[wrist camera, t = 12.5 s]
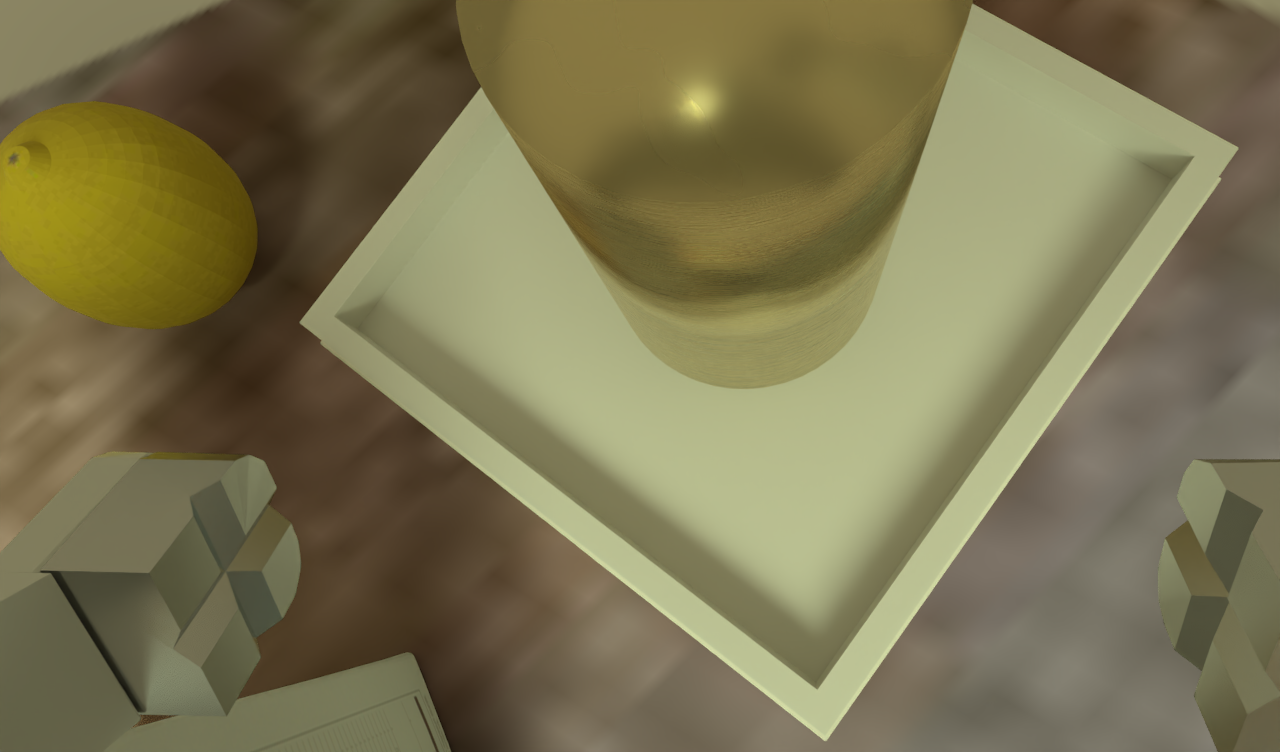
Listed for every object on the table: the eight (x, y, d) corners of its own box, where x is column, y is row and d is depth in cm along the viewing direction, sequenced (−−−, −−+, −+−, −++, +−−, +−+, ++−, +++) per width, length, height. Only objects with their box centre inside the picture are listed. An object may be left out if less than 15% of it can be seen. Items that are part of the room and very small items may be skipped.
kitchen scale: (1163, 225, 25) (1272, 127, 19) (819, 712, 24) (829, 758, 18) (701, -39, 28) (679, -188, 23) (386, 374, 27) (282, 325, 22)
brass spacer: (933, 224, 21) (1089, -131, 10) (776, 442, 21) (770, 307, 10) (714, 91, 22) (652, -342, 12) (563, 293, 22) (357, 32, 11)
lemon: (229, 147, 30) (29, 0, 22) (342, 257, 28) (174, 141, 20) (106, 277, 29) (-139, 175, 22) (215, 393, 28) (-5, 328, 20)
